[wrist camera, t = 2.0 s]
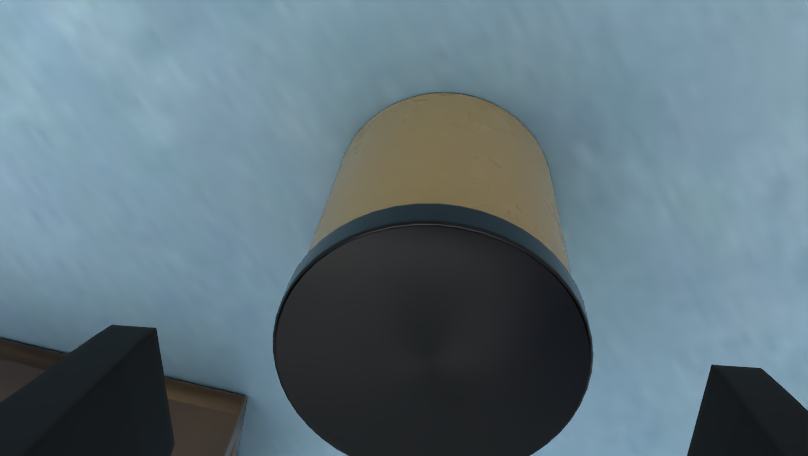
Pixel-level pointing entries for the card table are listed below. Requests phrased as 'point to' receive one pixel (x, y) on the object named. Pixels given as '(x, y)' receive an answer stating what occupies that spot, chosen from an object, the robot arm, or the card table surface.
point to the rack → (188, 403)
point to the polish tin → (436, 292)
